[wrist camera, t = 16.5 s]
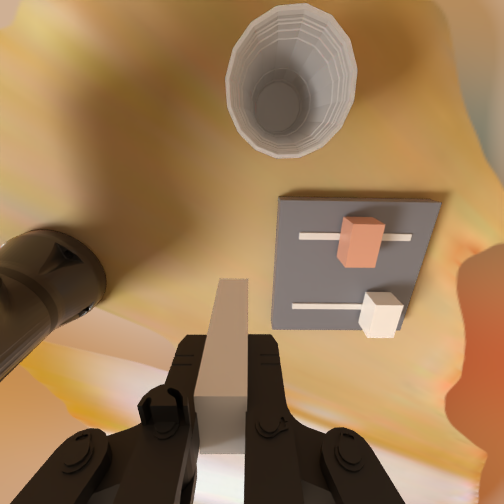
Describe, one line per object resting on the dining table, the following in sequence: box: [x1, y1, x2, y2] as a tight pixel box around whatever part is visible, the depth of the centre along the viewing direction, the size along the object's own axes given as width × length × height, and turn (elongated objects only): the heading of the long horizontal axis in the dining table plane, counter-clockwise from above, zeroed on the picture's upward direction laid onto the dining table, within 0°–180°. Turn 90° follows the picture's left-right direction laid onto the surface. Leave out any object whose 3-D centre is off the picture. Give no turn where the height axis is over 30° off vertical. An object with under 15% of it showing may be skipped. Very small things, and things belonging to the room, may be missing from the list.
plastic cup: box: [225, 3, 358, 159], centre depth 25 cm, size 11×11×12 cm
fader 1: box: [337, 217, 385, 268], centre depth 33 cm, size 4×6×4 cm, turn 179°
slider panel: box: [271, 197, 442, 330], centre depth 39 cm, size 22×22×3 cm
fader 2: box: [358, 292, 404, 338], centre depth 38 cm, size 4×6×4 cm, turn 179°
